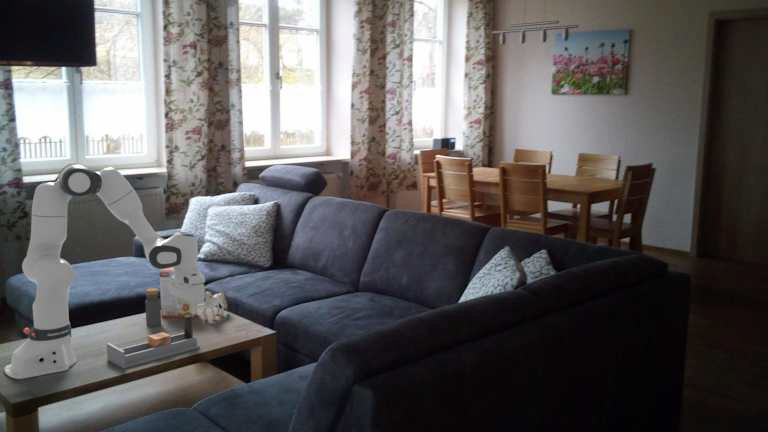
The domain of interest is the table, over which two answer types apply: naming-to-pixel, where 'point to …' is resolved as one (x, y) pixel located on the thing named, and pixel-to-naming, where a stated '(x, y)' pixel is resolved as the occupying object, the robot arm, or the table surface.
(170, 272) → the cracker box
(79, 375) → the table surface
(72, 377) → the table surface
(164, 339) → the block and post stand
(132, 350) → the board
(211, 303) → the unicorn figurine
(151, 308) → the bottle
